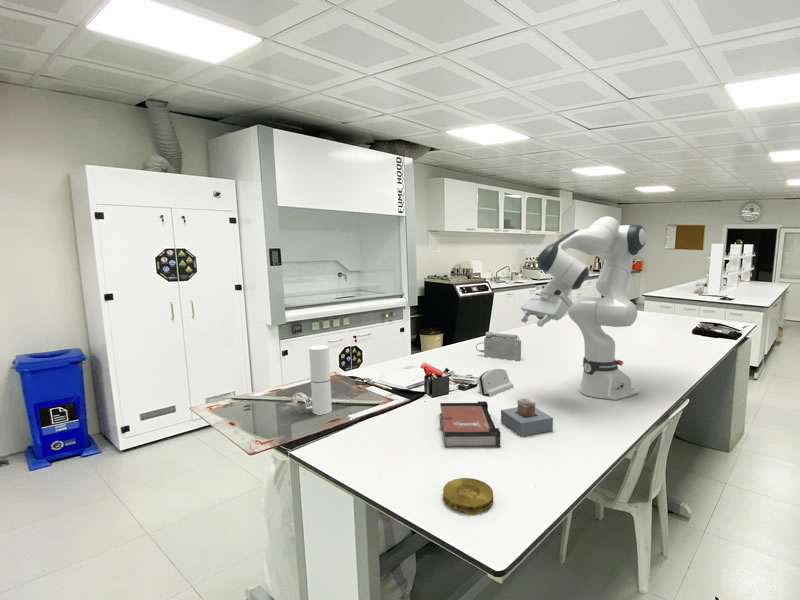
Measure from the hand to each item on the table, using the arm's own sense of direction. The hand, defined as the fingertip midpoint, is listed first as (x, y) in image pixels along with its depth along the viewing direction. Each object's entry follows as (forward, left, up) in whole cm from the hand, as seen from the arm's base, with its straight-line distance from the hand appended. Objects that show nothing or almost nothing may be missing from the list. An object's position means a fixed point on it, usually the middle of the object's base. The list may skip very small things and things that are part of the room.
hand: (530, 323), depth 158 cm
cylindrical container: (+76, -22, -32) cm, 86 cm away
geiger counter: (-24, -63, -32) cm, 74 cm away
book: (+33, +11, -32) cm, 47 cm away
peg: (+13, +17, -31) cm, 38 cm away
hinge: (+4, -19, -32) cm, 37 cm away
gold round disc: (+50, +47, -32) cm, 76 cm away
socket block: (+13, +17, -31) cm, 38 cm away
